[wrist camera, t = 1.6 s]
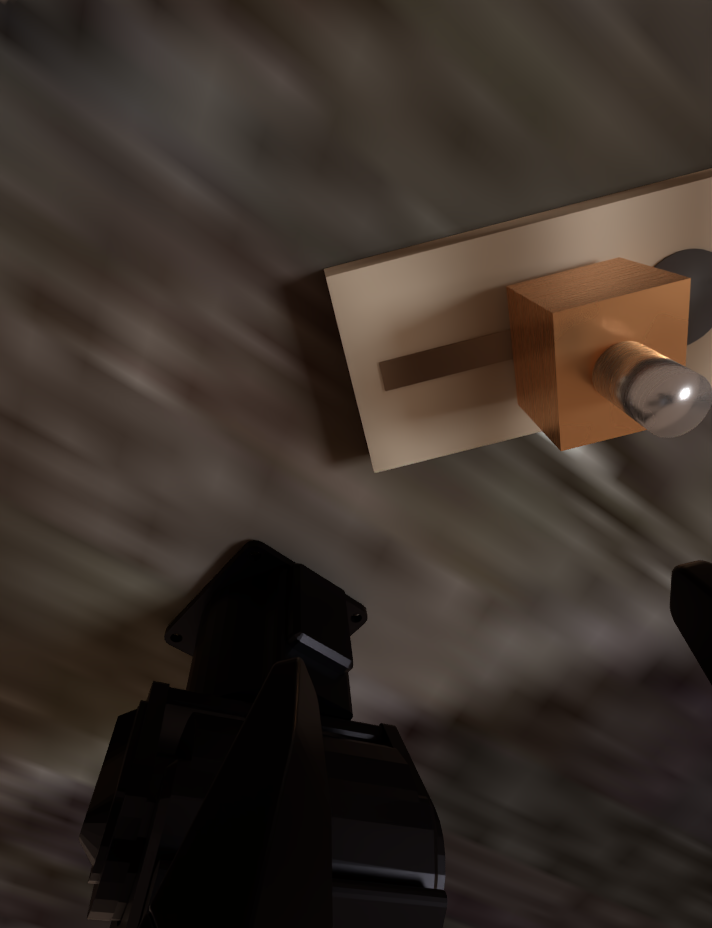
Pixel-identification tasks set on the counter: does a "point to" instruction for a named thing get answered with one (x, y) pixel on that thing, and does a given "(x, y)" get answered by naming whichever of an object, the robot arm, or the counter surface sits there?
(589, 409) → the orange slider block
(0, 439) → the counter surface
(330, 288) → the bolt plate
